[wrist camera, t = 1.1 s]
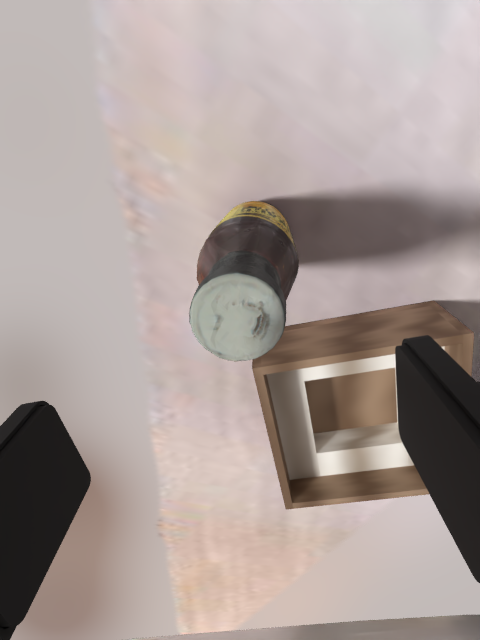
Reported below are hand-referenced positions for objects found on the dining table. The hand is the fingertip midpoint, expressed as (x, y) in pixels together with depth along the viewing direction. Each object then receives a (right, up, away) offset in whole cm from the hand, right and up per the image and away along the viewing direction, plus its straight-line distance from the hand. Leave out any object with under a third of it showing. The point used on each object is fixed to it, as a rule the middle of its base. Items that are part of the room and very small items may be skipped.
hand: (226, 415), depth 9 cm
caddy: (+12, -5, +30) cm, 32 cm away
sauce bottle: (+2, +11, +23) cm, 25 cm away
